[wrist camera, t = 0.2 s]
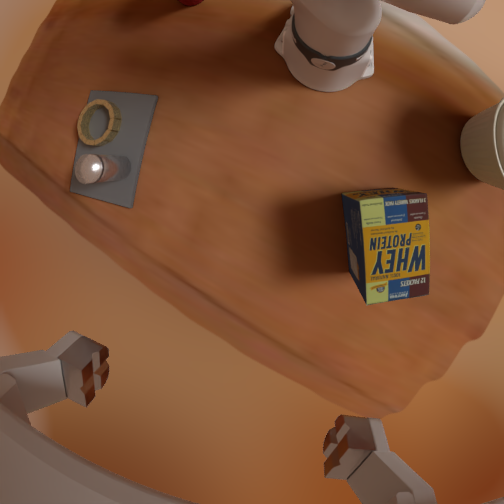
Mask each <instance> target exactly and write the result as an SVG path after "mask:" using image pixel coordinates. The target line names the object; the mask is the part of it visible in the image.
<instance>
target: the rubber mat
mask: <svg viewBox="0 0 504 504" xmlns="http://www.w3.org/2000/svg"><path fill="white" fill-rule="evenodd" d="M96 99H100V100H107V101H110V102H113V103H114V104H115V105H116V106H117V107H118V108H119V109H120V112H121V117H122V122H121V126H120V130H119V131H118V132H119V133H118V134H117V135H116V137H115V138H114V139H113V141H111V142H110V143H108V144H106V145H104V146H94V145H88V144H85V143H84V142H83V141H82V140H81V139H80V138H79V140H78V145H77V150H76V156H75V161H74V167H73V173H72V179H71V186H70V192H74V193H77V194H81V195H84V196H88V197H92V198H95V199H99V200H102V201H106V202H109V203H113V204H117V205H120V206H124V207H127V208H133V202H134V197H135V192H136V186H137V181H138V176H139V172H140V167H141V162H142V158H143V153H144V149H145V145H146V141H147V137H148V133H149V129H150V125H151V121H152V117H153V114H154V110H155V107H156V103H157V100H158V96H156V95H147V94H137V93H126V92H112V91H93V90H91V92H90V96H89V99H88V103H87V104H89V103H90V102H92V101H94V100H96ZM109 121H110V115H109V110H108V109H107V108H106V107H105V106H103V107H101V108H99V109H97V110H96V111H95V113H94V114H93V115H92V117H91V119H90V124H89V130H90V135H91V136H92V137H93V138H94V139H95V140H96V139H98V138H100V137H102V136H103V134H104V133H105V132H106V130H107V129H108V125H109ZM79 137H80V136H79ZM85 154H97V155H119V156H125V157H127V158H128V159H129V160H130V163H131V172H130V174H129V176H128V177H127V178H126V179H124V180H118V181H107V182H97V183H93V184H83V183H81V182H79V181H78V179H77V178H76V175H75V165H76V162H77V160H78V159H79V158H80V157H81V156H82V155H85Z"/></svg>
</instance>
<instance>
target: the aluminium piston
mask: <svg viewBox="0 0 504 504" xmlns="http://www.w3.org/2000/svg"><path fill="white" fill-rule="evenodd" d="M130 172H131V163H130V160H129V159H128V158H127V157H125V156H119V155H97V154H85V155H82V156H81V157H80V158H79V159H78V160H77V162H76V165H75V175H76V178H77V179H78V181H79V182H81V183H83V184H93V183H97V182H107V181H118V180H124V179H126V178H127V177H128V176H129V174H130Z"/></svg>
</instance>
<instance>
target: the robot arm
mask: <svg viewBox="0 0 504 504" xmlns="http://www.w3.org/2000/svg"><path fill="white" fill-rule="evenodd" d="M381 1H384V2H386V3H389V4H391V5H394V6H396V7H399V8H401V9H404V10H406V11H408V12H412V13H415V14H419V15H423V16H426V17H429V18H432V19H436V20H439V21H443V22H446V23H449V24H458V23H462V22H464V21H467V20H469V19H470V18H472V17H473V16H475V15H476V14H477V13H478V12H479V11H480V10H481V8H482V7H483V5H484V3H485V0H381ZM291 2H292V3H293V6H292V8H291V11H290V14H291V15H292V16H291V17H290V19H288V20H287V21H286V24H285V27H284V29H283V30H282V32H281V34H280V35H279V37H278V39H277V40H276V42H275V45H274V48H275V50H276V51H277V52H278V54H280V55H281V56H282V57H283V58H284V60H285V61H286V64H287V66H288V68H289V70H290V72H291V73H292V75H293V76H294V77H295V78H296V79H297V80H298V81H299V82H301V83H302V84H304V85H305V86H307V87H309V88H312V89H314V90H318V91H324V92H334V91H339V90H343V89H345V88H347V87H349V86H351V85H352V84H353V83H355V82H356V81H358V80H360V79H365V78H369V77H371V76H372V75H373V72H374V56H373V33H374V31H375V30H376V28H377V26H378V25H379V23H380V20H381V15H382V10H381V5H380V2H379V0H291ZM281 41H283V43H282V42H281ZM368 66H369V67H368ZM108 357H109V349H108V348H107V347H106V346H104V345H102V344H100V343H97V342H96V341H94V340H91V339H89V338H87V337H85V336H83V335H81V334H79V333H77V332H75V331H70V332H68V333H67V334H66V335H65V336H64V337H62V338H61V339H60V340H59V341H57V342H56V343H55V344H54V345H53V346H52V347H50V348H49V349H48V350H47V351H44V350H39V351H33V352H27V353H21V354H15V355H10V356H3V357H0V504H198V503H194V502H191V501H187V500H183V499H181V498H177V497H174V496H171V495H168V494H165V493H163V492H160V491H157V490H154V489H151V488H149V487H146V486H143V485H141V484H138V483H136V482H133V481H131V480H129V479H127V478H124V477H122V476H120V475H117V474H115V473H113V472H111V471H109V470H107V469H104V468H102V467H100V466H98V465H96V464H94V463H92V462H91V461H88V460H86V459H85V458H83V457H81V456H79V455H77V454H76V453H74V452H72V451H70V450H69V449H67V448H65V447H64V446H62V445H60V444H58V443H57V442H55V441H54V440H52V439H50V438H49V437H47V436H46V435H44V434H43V433H41V432H40V431H38V430H36V429H35V428H34V427H32V426H31V423H30V421H29V418H28V415H27V414H28V413H30V412H33V411H36V410H39V409H41V408H44V407H47V406H49V405H52V404H55V403H57V402H60V401H62V400H65V399H67V398H69V399H71V400H72V401H75V402H76V403H78V404H80V405H82V406H84V407H87V406H88V404H90V402H91V401H92V400H93V399H94V397H95V390H99V389H102V387H103V386H104V384H105V383H106V380H107V378H108V375H109V365H108V363H107V361H106V359H107V358H108ZM66 397H67V398H66ZM323 454H324V455H325V456H326V457H327V460H326V461H325V462H324V475H325V478H333V479H343V480H347V482H348V484H349V485H350V486H351V488H352V490H353V491H354V492H355V494H356V495H357V497H358V498H359V500H360V501H361V503H362V504H437V501H436V498H435V495H434V491H433V488H432V487H430V486H429V485H428V484H427V483H426V482H425V481H424V480H423V479H422V478H421V477H420V476H419V475H417V474H416V473H415V472H414V471H413V470H412V469H411V468H410V467H409V466H408V465H407V464H406V463H405V462H404V461H403V460H401V459H400V458H399V457H398V456H397V455H396V454H395V453H394V452H390V450H389V446H388V442H387V439H386V435H385V432H384V428H383V425H382V421H381V420H380V419H377V418H365V417H356V416H348V415H340V416H338V417H337V419H336V420H335V427H334V428H332V429H330V430H329V431H328V433H327V435H326V437H325V440H324V444H323ZM483 504H504V497H502V498H499V499H496V500H493V501H490V502H487V503H483Z"/></svg>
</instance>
